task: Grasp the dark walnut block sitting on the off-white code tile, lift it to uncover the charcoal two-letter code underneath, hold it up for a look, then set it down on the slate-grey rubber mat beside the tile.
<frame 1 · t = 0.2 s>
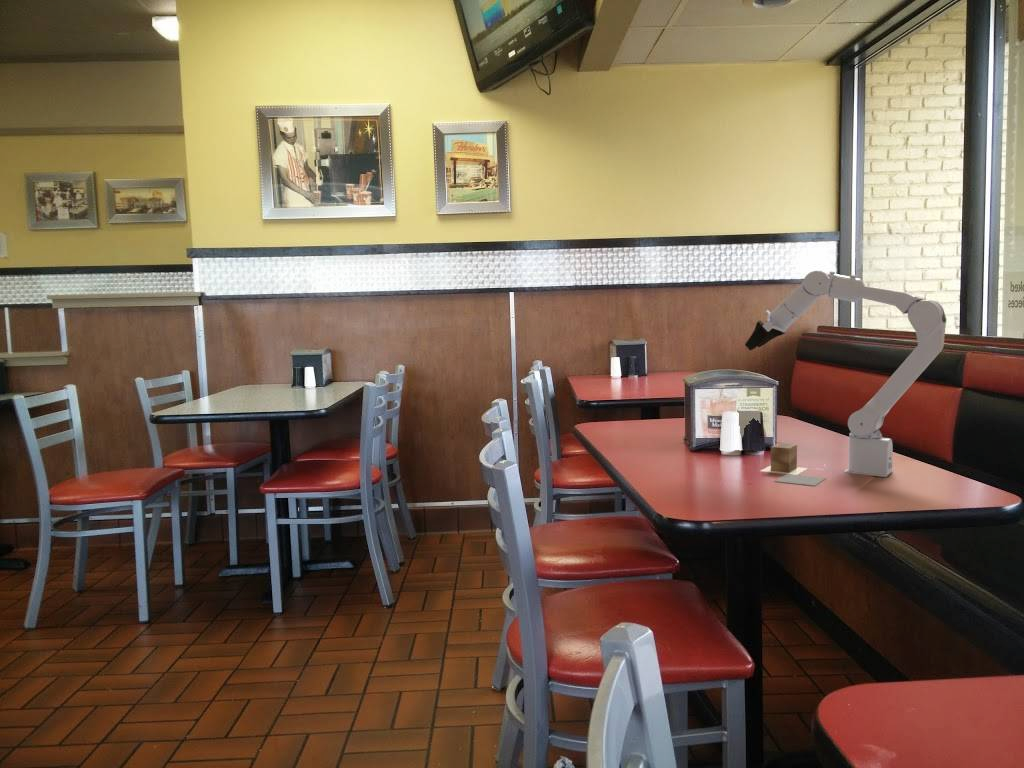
hand: (752, 346, 200), 31 cm above the table, tool tilted 45°, fingers open, 7 cm apart
walnut block: (783, 469, 191), resting on code tile
code tile: (783, 471, 191), on the table
grey mat: (800, 481, 179), on the table
skincare box: (748, 452, 219), on the table
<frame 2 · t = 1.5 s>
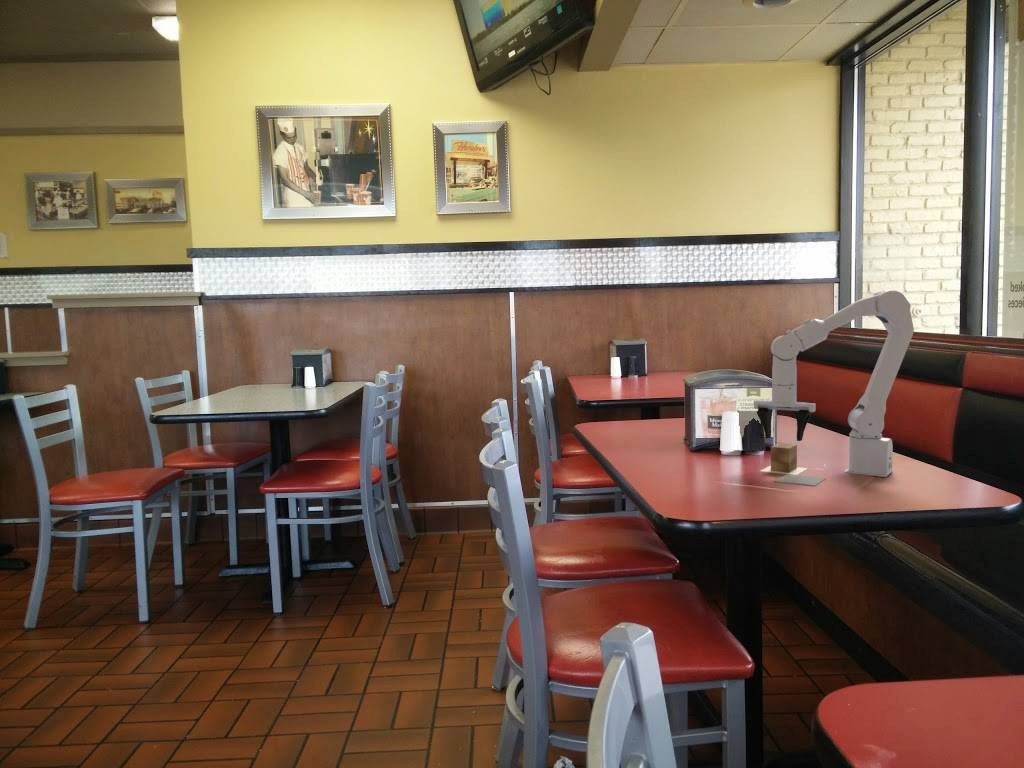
hand: (783, 439, 190), 8 cm above the table, tool pointing down, fingers open, 7 cm apart
nothing on the table moved.
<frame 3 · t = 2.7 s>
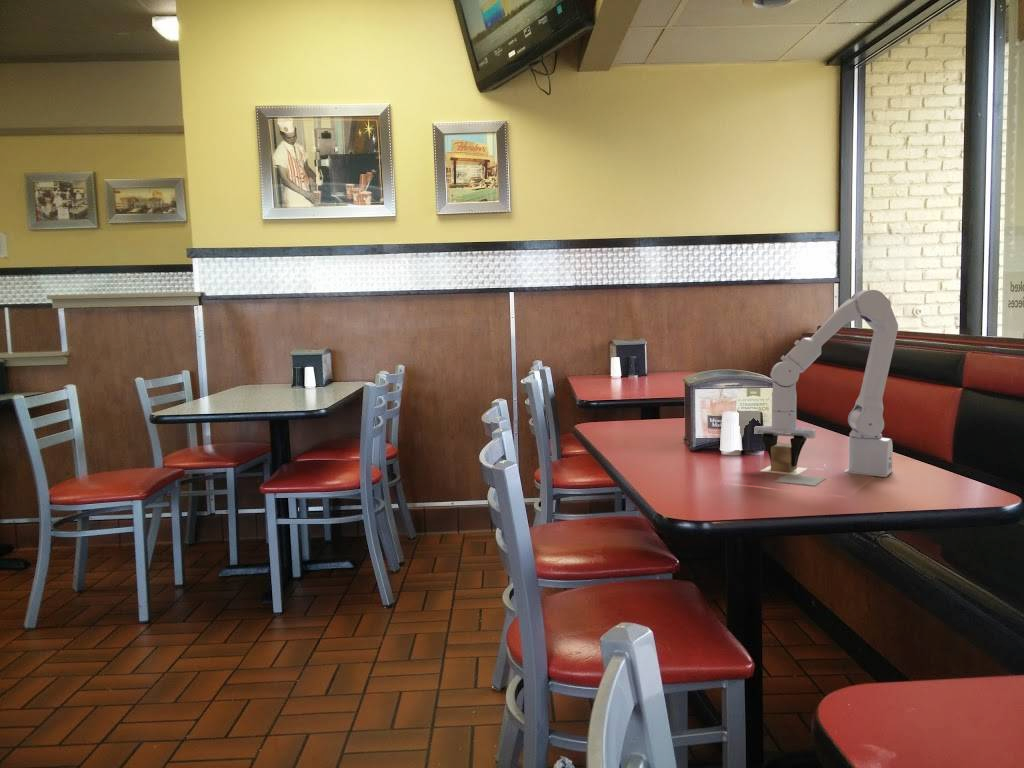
hand: (783, 464, 191), 2 cm above the table, tool pointing down, fingers closed on walnut block, 4 cm apart
walnut block: (783, 469, 191), resting on code tile, touching gripper
everything else where it was.
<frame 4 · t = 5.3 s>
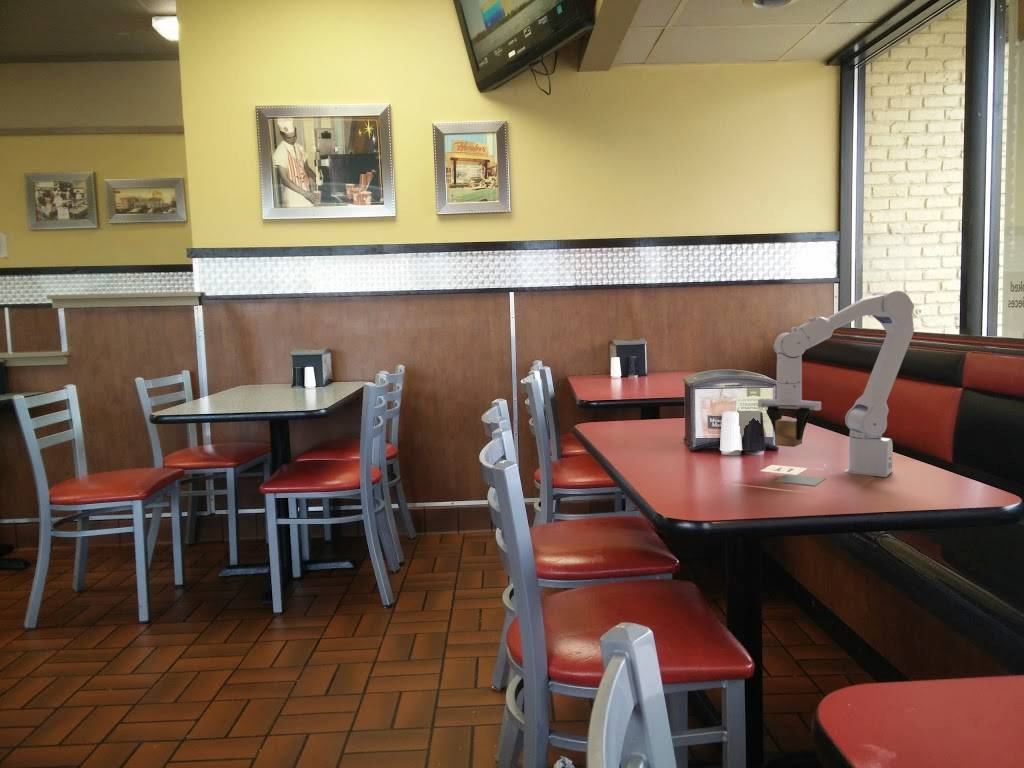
hand: (788, 438, 187), 9 cm above the table, tool pointing down, fingers closed on walnut block, 4 cm apart
walnut block: (788, 444, 187), point 7 cm above the table, touching gripper
everything else where it was.
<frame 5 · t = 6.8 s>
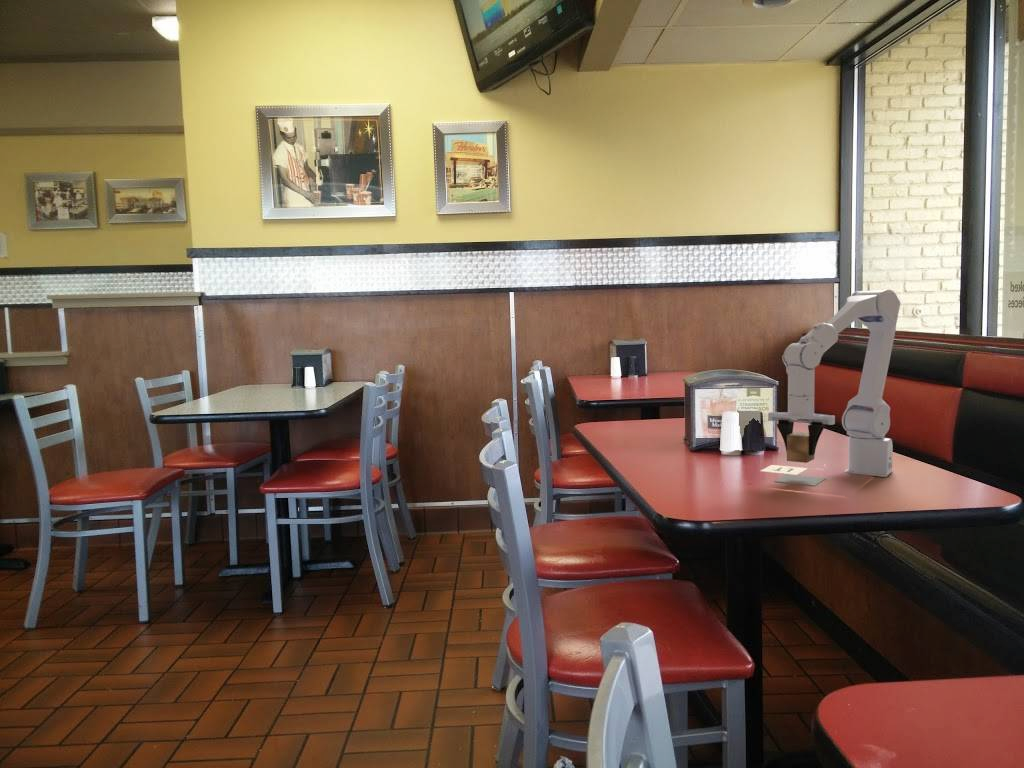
hand: (800, 453, 178), 7 cm above the table, tool pointing down, fingers closed on walnut block, 4 cm apart
walnut block: (800, 459, 178), point 5 cm above the table, touching gripper
everything else where it was.
when the fingers open (3 cm above the table, at t = 7.9 s): walnut block stays where it is, resting on grey mat.
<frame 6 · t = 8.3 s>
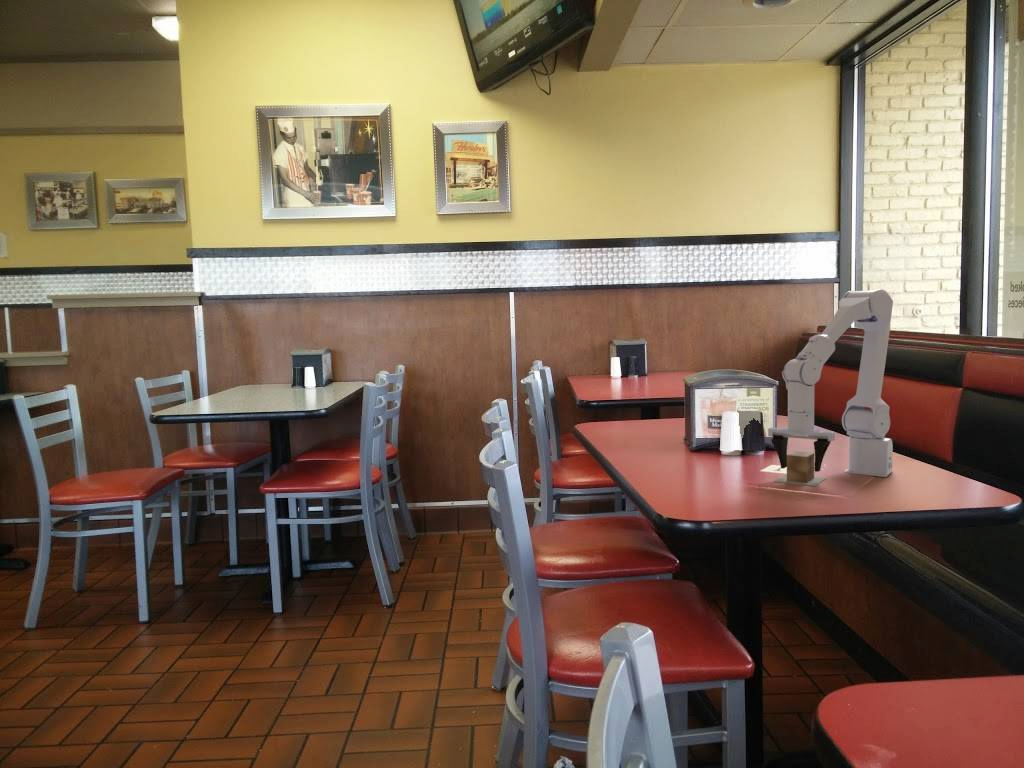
hand: (800, 469, 179), 3 cm above the table, tool pointing down, fingers open, 7 cm apart
walnut block: (800, 479, 179), point 1 cm above the table, touching grey mat
everything else where it was.
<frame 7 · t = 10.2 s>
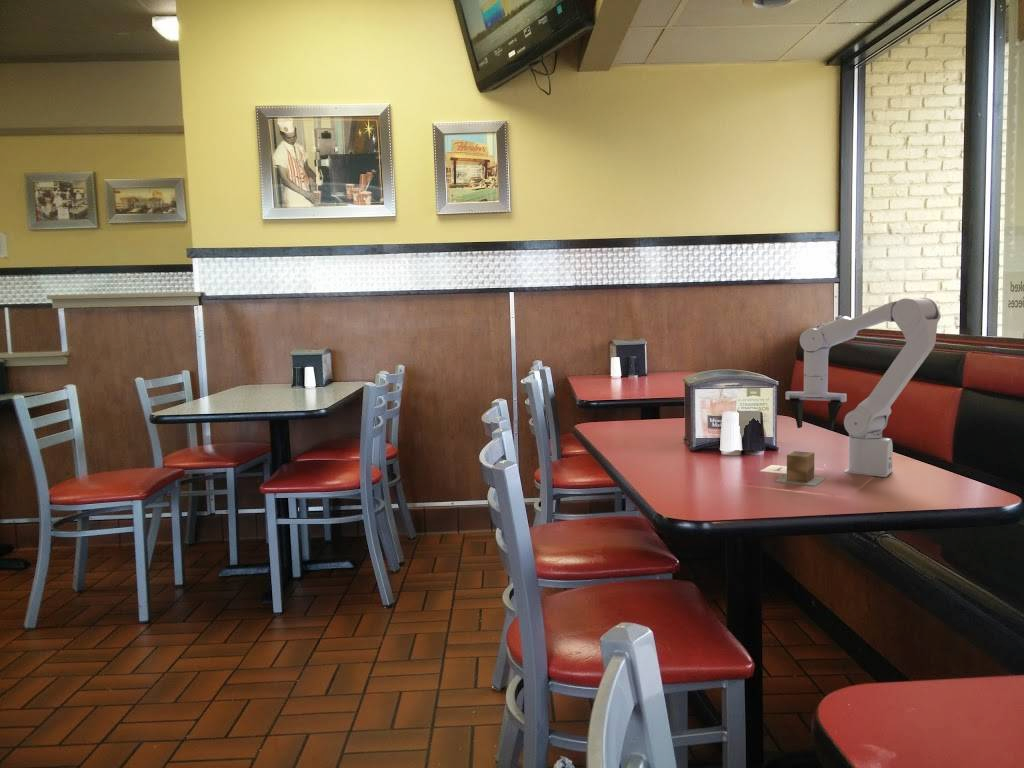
hand: (815, 428, 197), 9 cm above the table, tool pointing down, fingers open, 7 cm apart
nothing on the table moved.
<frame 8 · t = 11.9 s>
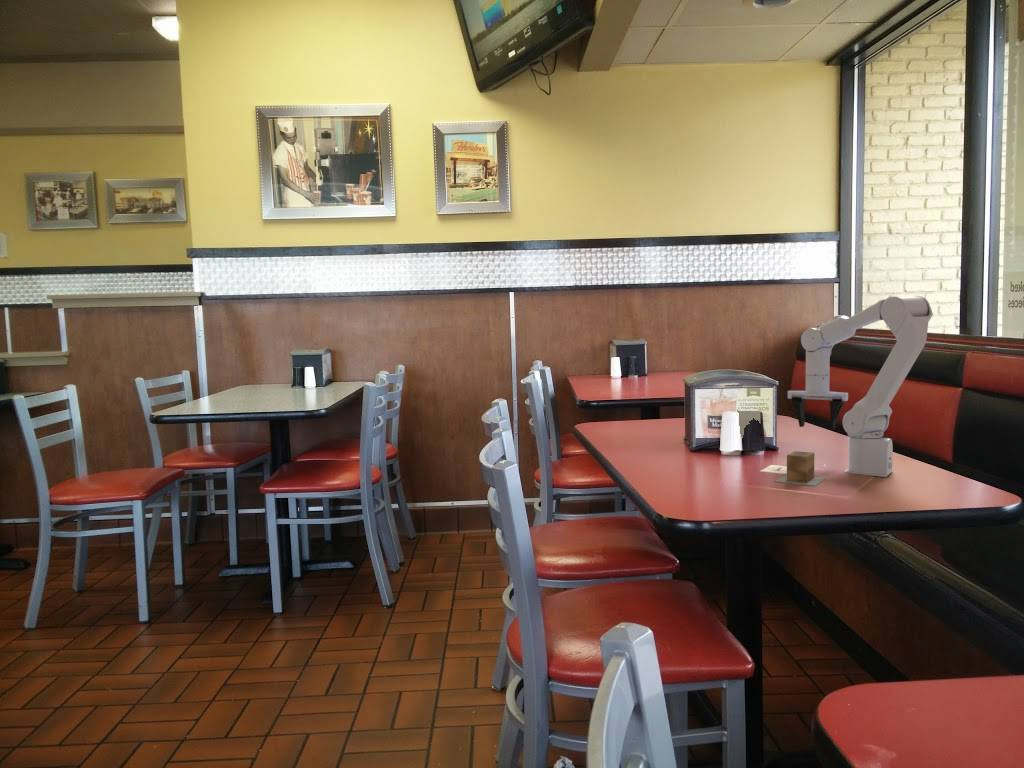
hand: (817, 427, 199), 9 cm above the table, tool pointing down, fingers open, 7 cm apart
nothing on the table moved.
at the end: walnut block 0.1 cm off-centre on the grey mat, point 0.6 cm above the grey mat's base; walnut block tilted 0°; walnut block touching grey mat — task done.
